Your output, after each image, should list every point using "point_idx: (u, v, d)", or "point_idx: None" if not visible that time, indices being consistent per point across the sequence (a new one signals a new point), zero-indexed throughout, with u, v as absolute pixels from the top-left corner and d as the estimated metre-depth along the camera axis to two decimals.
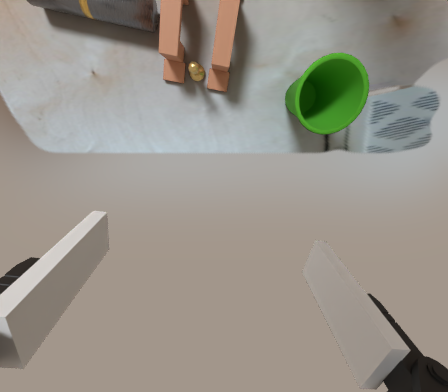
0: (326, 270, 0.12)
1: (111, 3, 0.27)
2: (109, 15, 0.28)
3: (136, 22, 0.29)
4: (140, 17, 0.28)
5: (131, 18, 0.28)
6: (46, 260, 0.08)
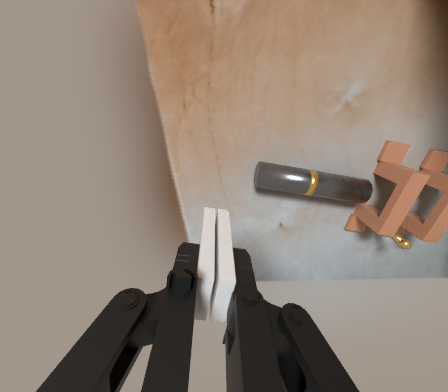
0: (216, 232, 0.14)
1: (337, 191, 0.29)
2: (328, 197, 0.30)
3: (350, 201, 0.30)
4: (358, 199, 0.30)
5: (348, 199, 0.30)
6: (205, 243, 0.11)
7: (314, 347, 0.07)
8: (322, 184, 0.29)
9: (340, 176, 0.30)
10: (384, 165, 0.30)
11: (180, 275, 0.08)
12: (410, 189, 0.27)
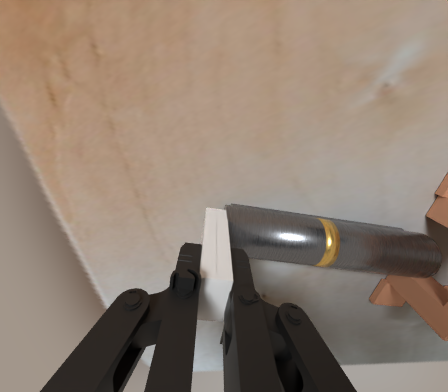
0: None
1: (376, 264, 0.15)
2: (356, 270, 0.16)
3: (396, 275, 0.17)
4: (412, 275, 0.16)
5: (394, 274, 0.16)
6: (208, 243, 0.11)
7: (311, 347, 0.07)
8: (347, 252, 0.15)
9: (379, 232, 0.16)
10: None
11: (183, 275, 0.08)
12: None
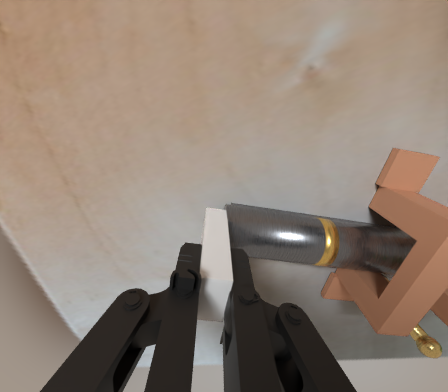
0: None
1: (375, 263, 0.15)
2: (356, 269, 0.16)
3: None
4: None
5: (393, 273, 0.16)
6: (208, 243, 0.11)
7: (311, 347, 0.07)
8: (347, 252, 0.15)
9: (379, 232, 0.16)
10: (389, 196, 0.16)
11: (183, 275, 0.08)
12: (446, 257, 0.12)
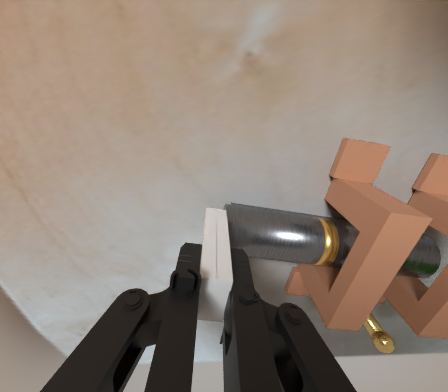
0: None
1: None
2: None
3: None
4: (411, 274, 0.16)
5: None
6: (208, 243, 0.11)
7: (311, 347, 0.07)
8: (346, 252, 0.15)
9: None
10: (340, 187, 0.15)
11: (183, 275, 0.08)
12: (386, 248, 0.12)
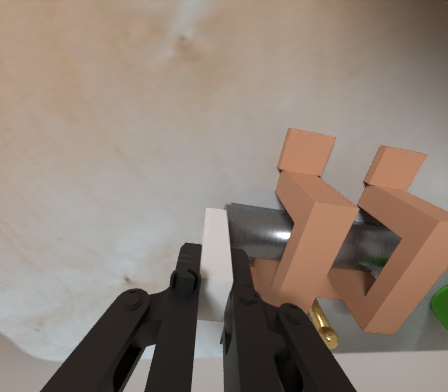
0: None
1: (374, 263, 0.15)
2: (355, 269, 0.16)
3: None
4: None
5: None
6: (208, 243, 0.11)
7: (311, 347, 0.07)
8: (346, 252, 0.15)
9: (378, 232, 0.16)
10: (285, 179, 0.15)
11: (183, 275, 0.08)
12: (316, 239, 0.11)
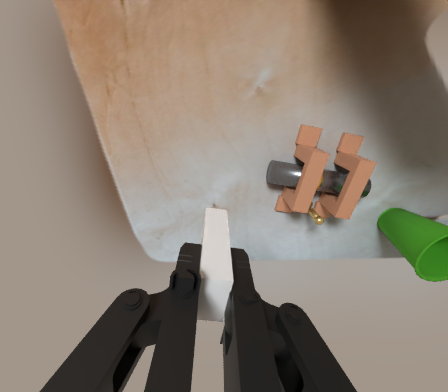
0: None
1: (340, 187, 0.33)
2: (332, 192, 0.34)
3: None
4: None
5: None
6: (207, 243, 0.11)
7: (311, 347, 0.07)
8: (327, 180, 0.33)
9: (343, 173, 0.34)
10: (299, 147, 0.33)
11: (183, 275, 0.08)
12: (313, 167, 0.29)
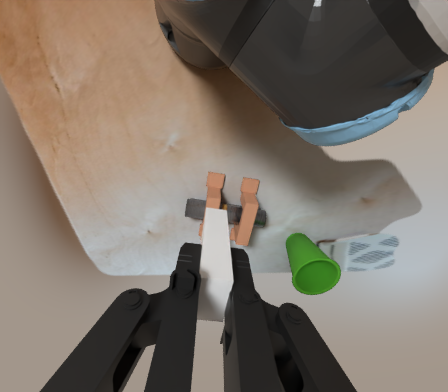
0: None
1: None
2: (236, 223, 0.43)
3: None
4: (257, 225, 0.43)
5: None
6: (208, 243, 0.11)
7: (311, 347, 0.07)
8: (229, 215, 0.42)
9: None
10: None
11: (183, 275, 0.08)
12: None
